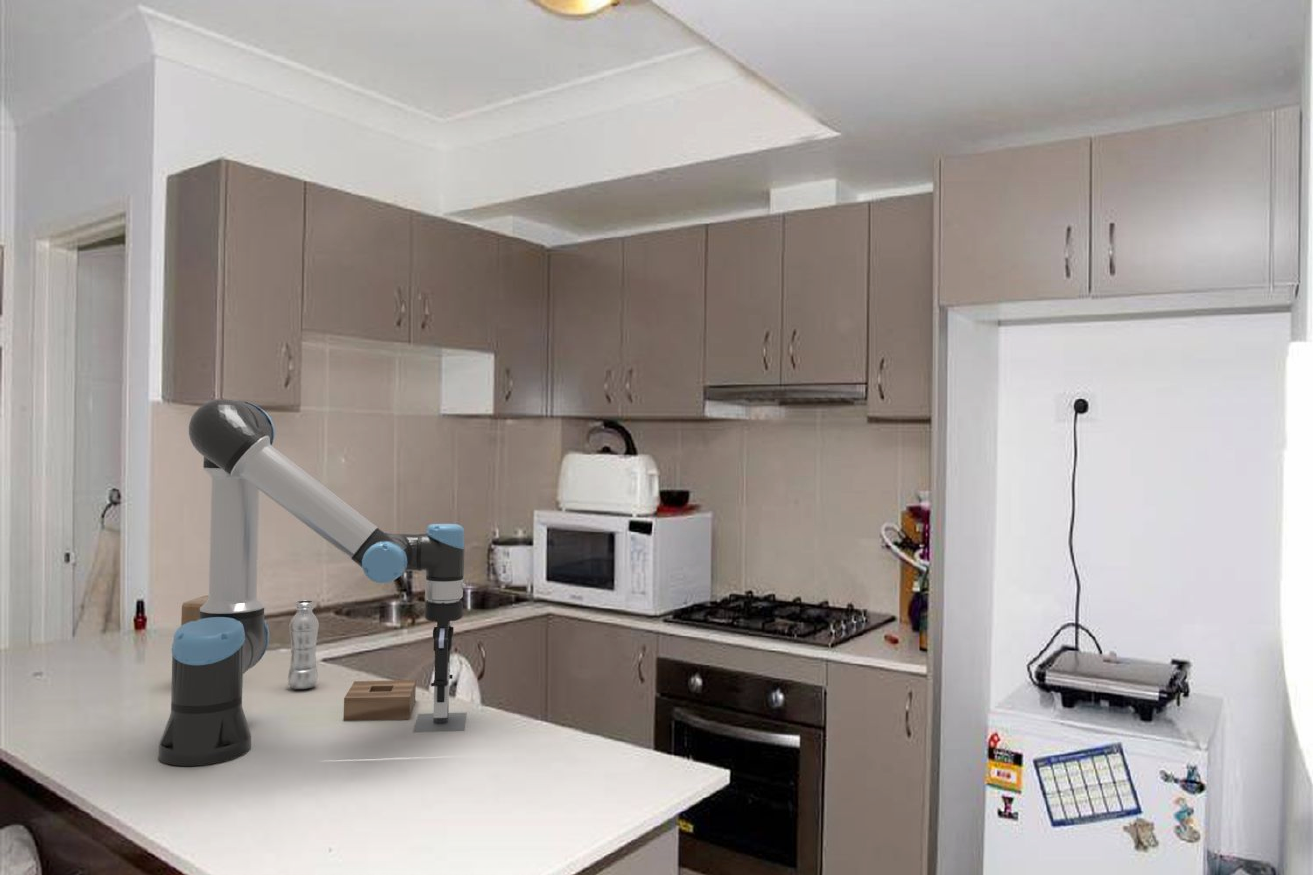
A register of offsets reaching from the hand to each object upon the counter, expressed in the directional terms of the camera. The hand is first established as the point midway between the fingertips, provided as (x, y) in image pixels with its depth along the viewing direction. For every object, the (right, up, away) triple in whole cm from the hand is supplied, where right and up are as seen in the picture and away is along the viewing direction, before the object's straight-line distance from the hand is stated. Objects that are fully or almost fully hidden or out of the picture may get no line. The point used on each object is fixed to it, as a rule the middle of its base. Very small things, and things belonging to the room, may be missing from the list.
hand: (441, 714), depth 183 cm
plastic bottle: (-37, -1, +23) cm, 44 cm away
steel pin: (0, -2, 0) cm, 2 cm away
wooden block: (-59, -1, +23) cm, 63 cm away
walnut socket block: (-14, -2, +7) cm, 16 cm away
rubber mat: (0, -2, 0) cm, 2 cm away
